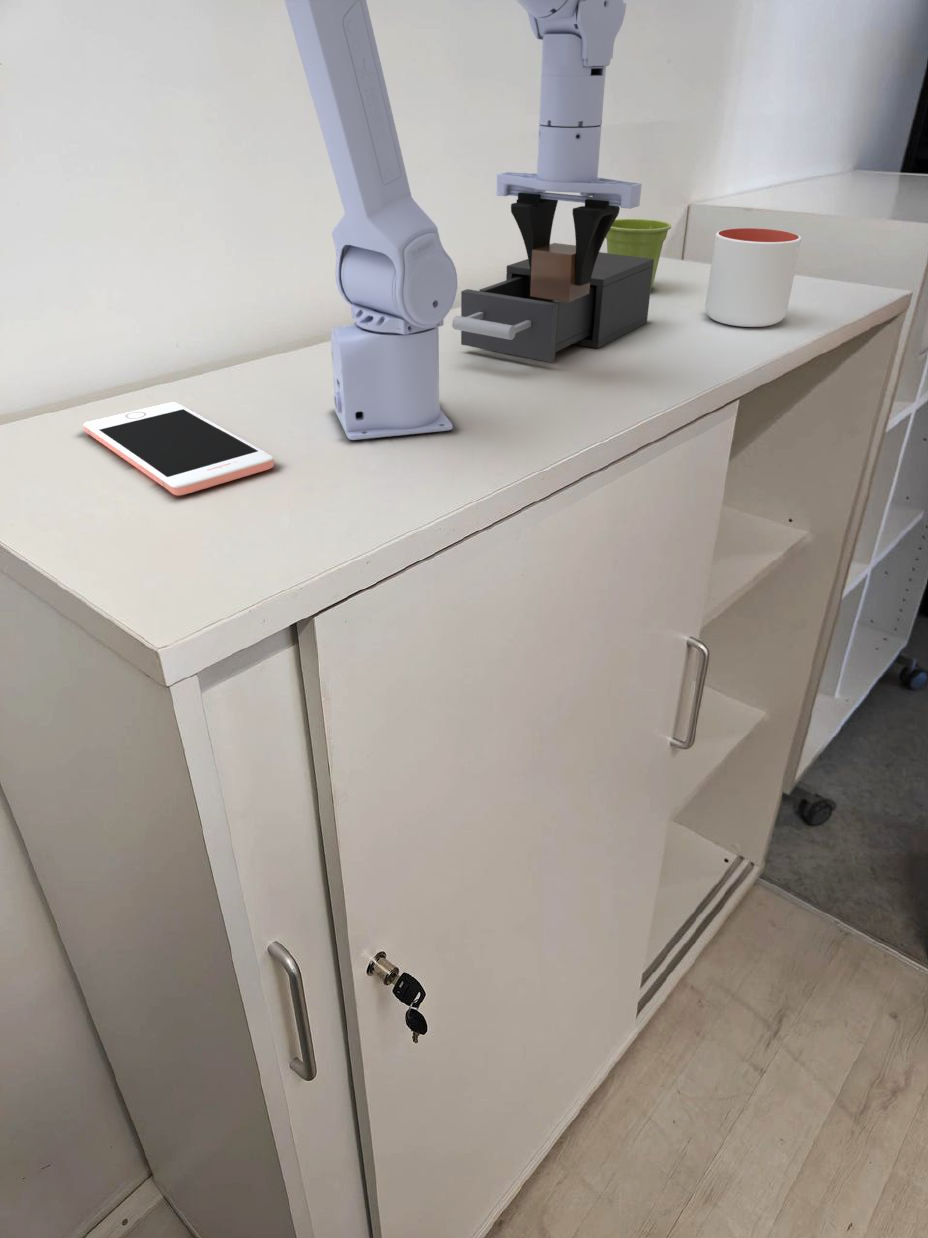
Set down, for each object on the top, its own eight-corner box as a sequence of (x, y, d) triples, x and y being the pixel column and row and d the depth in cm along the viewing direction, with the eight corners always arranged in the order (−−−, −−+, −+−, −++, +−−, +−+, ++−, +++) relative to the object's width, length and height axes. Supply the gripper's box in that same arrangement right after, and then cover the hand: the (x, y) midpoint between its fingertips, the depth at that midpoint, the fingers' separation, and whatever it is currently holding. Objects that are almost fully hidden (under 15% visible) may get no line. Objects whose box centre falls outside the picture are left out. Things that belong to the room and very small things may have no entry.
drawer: (525, 373, 91) (528, 315, 88) (435, 355, 96) (434, 299, 93) (602, 335, 103) (607, 283, 100) (518, 320, 108) (520, 270, 105)
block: (568, 302, 87) (571, 254, 84) (529, 296, 89) (531, 249, 86) (589, 293, 90) (592, 247, 87) (551, 287, 92) (554, 242, 90)
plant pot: (586, 284, 129) (591, 219, 124) (644, 280, 131) (651, 216, 127) (614, 298, 121) (620, 230, 117) (675, 294, 124) (684, 227, 119)
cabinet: (597, 348, 102) (603, 279, 97) (504, 331, 107) (506, 265, 103) (647, 323, 111) (654, 258, 107) (558, 308, 117) (562, 247, 113)
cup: (788, 331, 108) (806, 244, 102) (704, 327, 109) (717, 240, 104) (780, 311, 116) (796, 229, 111) (702, 307, 118) (714, 226, 112)
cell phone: (176, 410, 84) (174, 400, 83) (277, 467, 72) (275, 457, 72) (83, 432, 79) (81, 422, 78) (176, 498, 67) (174, 486, 67)
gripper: (661, 126, 81) (644, 282, 88) (525, 119, 87) (519, 264, 95) (627, 131, 76) (612, 296, 83) (485, 123, 82) (483, 276, 90)
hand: (560, 280), depth 89 cm, fingers closed on block, 4 cm apart
